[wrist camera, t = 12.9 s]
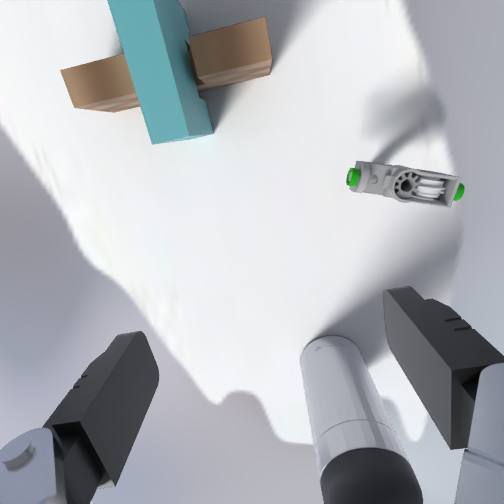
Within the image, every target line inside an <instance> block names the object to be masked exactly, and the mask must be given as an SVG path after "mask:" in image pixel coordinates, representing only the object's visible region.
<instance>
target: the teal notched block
mask: <svg viewBox="0 0 504 504" xmlns="http://www.w3.org/2000/svg"><path fill="white" fill-rule="evenodd" d="M107 1H108V4H109V7H110V10H111V13H112V17H113V20H114V23H115V26H116V29H117V33H118V36H119V39H120V42H121V46H122V49H123V52H124V55H125V58H126V62H127V65H128V68H129V71H130V74H131V78H132V81H133V84H134V87H135V91H136V94H137V97H138V100H139V103H140V107H141V110H142V113H143V116H144V119H145V123H146V126H147V129H148V132H149V136H150V139H151V142H152V144H159V143H166V142H174V141H181V140H188V139H193V138H197V137H202V136H206V135H210V134H213V129H212V125H211V121H210V117H209V113H208V109H207V104H206V101H205V100H203V99H201V98H199V95H198V91H197V87H196V83H195V79H194V75H193V71H192V67H191V63H190V59H189V55H188V51H190V50H191V47H190V43H189V39H188V37H190V34H189V29H188V25H187V21H186V17H185V13H184V10H183V8H182V6H181V5H180V3H179V2H178V0H107Z"/></svg>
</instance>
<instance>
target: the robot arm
mask: <svg viewBox="0 0 504 504" xmlns="http://www.w3.org/2000/svg"><path fill="white" fill-rule="evenodd" d="M383 304H384V317H385V330H386V337H387V341H388V344H389V347H390V349H391V351H392V353H393V355H394V356H395V358H396V360H397V361H398V363H399V365H400V366H401V368H402V370H403V371H404V373H405V375H406V376H407V378H408V380H409V381H410V383H411V385H412V386H413V388H414V390H415V391H416V393H417V395H418V396H419V398H420V400H421V401H422V403H423V405H424V406H425V408H426V410H427V411H428V413H429V415H430V416H431V418H432V420H433V421H434V423H435V424H436V426H437V428H438V430H439V431H440V433H441V435H442V436H443V438H444V440H445V441H446V442H447V445H448V446H449V448H450V449H451V450H453V449H462V448H468V449H465V450H464V454H463V458H462V463H461V469H460V475H459V480H458V486H457V492H456V497H455V503H454V504H504V356H503V355H502V354H501V353H500V352H499V351H497V349H496V348H494V347H493V346H492V345H491V344H490V343H489V342H488V341H487V340H486V339H485V338H483V337H482V336H481V335H480V334H479V333H478V332H477V331H476V330H475V329H472V328H471V326H470V325H469V324H468V323H467V322H466V321H465V320H462V319H461V317H460V316H459V315H458V314H457V313H456V312H455V311H454V310H453V309H452V308H450V307H449V306H447V305H445V304H443V303H441V302H438V301H436V300H434V299H427V300H424V299H423V298H422V297H421V296H420V295H419V294H418V293H417V292H416V291H415V290H414V289H413V288H412V287H410V286H406V287H400V288H394V289H388V290H384V292H383ZM300 366H301V372H302V378H303V385H304V390H305V396H306V402H307V408H308V414H309V420H310V426H311V432H312V438H313V444H314V450H315V455H316V461H317V466H318V473H319V479H320V484H321V490H322V495H323V501H324V504H423V497H422V491H421V488H420V485H419V483H418V480H417V478H416V476H415V474H414V472H413V469H412V467H411V465H410V463H409V460H408V458H407V456H406V454H405V452H404V449H403V447H402V445H401V443H400V440H399V438H398V436H397V434H396V432H395V430H394V427H393V425H392V423H391V421H390V418H389V416H388V414H387V412H386V409H385V407H384V405H383V403H382V400H381V398H380V396H379V394H378V391H377V389H376V387H375V385H374V382H373V380H372V378H371V376H370V373H369V371H368V369H367V367H366V364H365V362H364V360H363V358H362V355H361V353H360V351H359V349H358V347H357V346H356V345H355V344H354V343H353V342H352V341H350V340H348V339H346V338H343V337H340V336H326V337H322V338H319V339H316V340H314V341H313V342H311V343H310V344H309V345H308V346H307V347H306V348H305V349H304V351H303V352H302V355H301V358H300ZM158 382H159V370H158V366H157V364H156V361H155V359H154V356H153V353H152V351H151V348H150V346H149V343H148V341H147V338H146V336H145V334H144V333H143V332H142V331H137V332H131V333H126V334H120V335H118V336H116V337H115V339H114V340H113V342H112V343H111V344H110V346H109V347H108V348H107V350H106V351H105V352H104V353H102V354H101V355H100V356H99V357H98V358H96V359H95V360H94V361H93V362H92V363H90V365H89V366H88V368H87V369H86V370H85V371H84V373H83V374H82V375H81V378H80V379H78V381H77V382H76V383H75V385H74V386H73V389H71V390H70V391H69V392H68V394H67V395H66V396H65V398H64V399H63V400H62V402H61V403H60V404H59V406H58V407H57V408H56V410H55V411H54V412H53V414H52V415H51V416H50V418H49V419H48V420H47V422H46V423H45V424H44V425H43V427H42V428H37V429H33V430H30V431H28V432H26V433H24V434H22V435H20V436H18V437H16V438H15V439H13V440H12V441H10V442H9V443H8V444H7V445H6V446H4V447H3V448H2V449H1V450H0V504H94V502H93V501H92V498H93V496H94V494H95V492H96V489H101V488H110V487H115V486H116V484H117V482H118V479H119V477H120V475H121V472H122V470H123V467H124V465H125V463H126V460H127V458H128V456H129V453H130V451H131V448H132V446H133V443H134V441H135V439H136V437H137V434H138V432H139V429H140V427H141V425H142V422H143V420H144V417H145V415H146V413H147V410H148V408H149V406H150V403H151V401H152V398H153V396H154V394H155V391H156V389H157V386H158Z"/></svg>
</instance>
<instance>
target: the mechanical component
mask: <svg viewBox="0 0 504 504" xmlns="http://www.w3.org/2000/svg"><path fill="white" fill-rule="evenodd" d="M460 181H461V178H460V177H456V176H452V175H447V174H443V173H438V172H432V171H426V170H419V169H412V168H408V167H404V166H400V165H394V166H392V165H384V164H377V163H370V162H363V161H356V165H355V168H350V170H349V172H348V175H347V180H346V183H347V185H349V186H350V190H352V191H353V192H358V193H362V192H364V193H371V194H378V195H383V196H385V197H391V198H394V199H396V200H398V201H400V202H404V203H408V202H416V203H423V204H430V205H437V206H444V207H451V205H452V202H453V200H456V201H457V200H459V199H460V198H461V197H462V196H463V193H464V185H463V184H461V183H460Z"/></svg>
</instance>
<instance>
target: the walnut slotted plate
mask: <svg viewBox="0 0 504 504" xmlns="http://www.w3.org/2000/svg"><path fill="white" fill-rule="evenodd" d="M188 39H189V43H190V47H191V50H190V51H188V55H189V59H190V63H191V67H192V71H193V75H194V79H195V83H196V87H197V91H198V92H201V91H205V90H209V89H213V88H217V87H221V86H225V85H230V84H234V83H238V82H242V81H246V80H250V79H254V78H259V77H263V76H267V75H270V69H271V63H272V55H271V48H270V42H269V36H268V30H267V23H266V17H262V18H259V19H255V20H251V21H247V22H243V23H239V24H236V25H232V26H228V27H224V28H220V29H216V30H213V31H209V32H205V33H201V34H197V35H193V36H190V37H188ZM60 71H61V74H62V77H63V79H64V82H65V84H66V87H67V90H68V92H69V95H70V98H71V100H72V103H73V105H74V108H80V109H88V110H97V111H105V112H118V111H122V110H126V109H130V108H135V107H139V106H140V103H139V100H138V97H137V94H136V91H135V87H134V84H133V81H132V78H131V74H130V71H129V68H128V65H127V62H126V58H125V55H124V54H121V55H117V56H113V57H109V58H105V59H102V60H98V61H94V62H90V63H86V64H83V65H79V66H75V67H71V68H67V69H63V70H60Z"/></svg>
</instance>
